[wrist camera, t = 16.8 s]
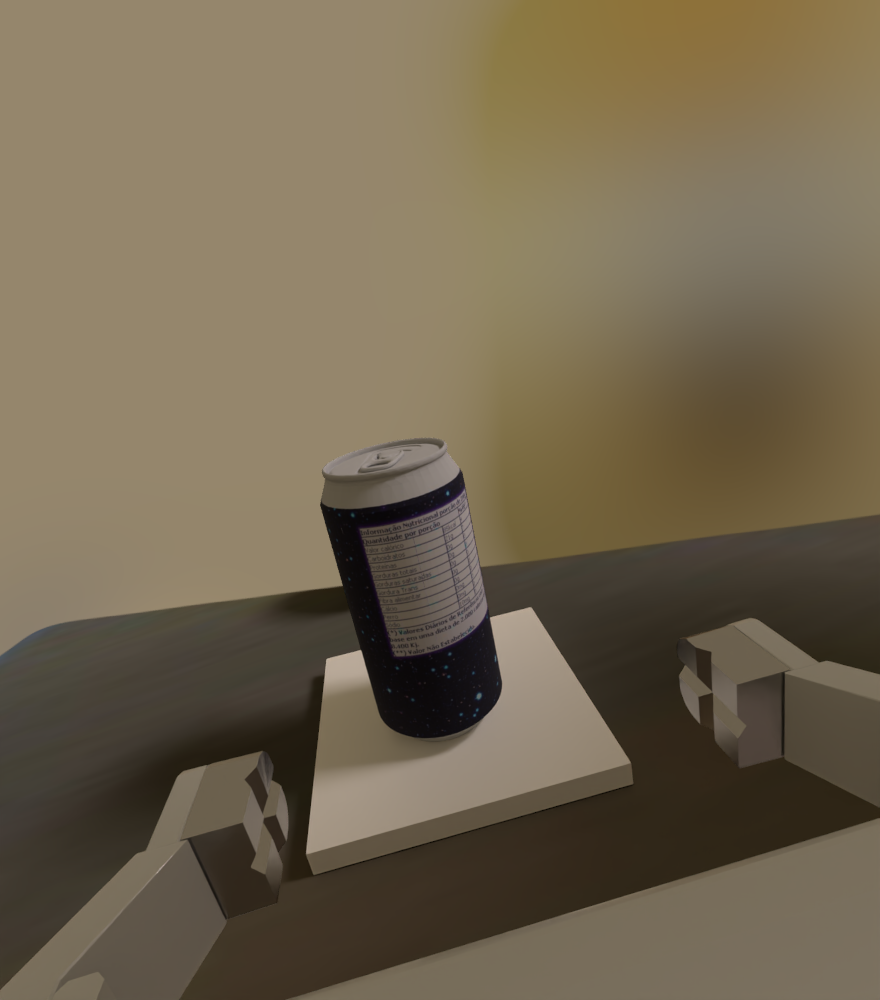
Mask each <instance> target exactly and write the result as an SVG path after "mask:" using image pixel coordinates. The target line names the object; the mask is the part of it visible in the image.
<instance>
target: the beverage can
mask: <svg viewBox="0 0 880 1000" xmlns="http://www.w3.org/2000/svg"><path fill="white" fill-rule="evenodd" d="M322 474H323V476H324V478H325V485H324V489H323V493H322V498H321V504H320V506H321V509H322V513H323V516H324V520H325V524H326V527H327V531H328V534H329V538H330V541H331V544H332V548H333V552H334V555H335V559H336V563H337V566H338V570H339V573H340V577H341V580H342V584H343V588H344V591H345V595H346V598H347V602H348V605H349V609H350V612H351V616H352V619H353V623H354V627H355V630H356V634H357V637H358V641H359V644H360V648H361V651H362V655H363V658H364V662H365V666H366V669H367V673H368V676H369V680H370V683H371V687H372V690H373V694H374V697H375V701H376V704H377V708H378V712H379V715H380V717H381V719H382V720H383V722H384V723H385V724H386V725H387V726H388V727H389V728H391V729H392V730H394V731H396V732H398V733H400V734H403V735H406V736H410V737H413V738H415V739H419V740H422V741H428V742H439V741H446V740H451V739H454V738H457V737H459V736H461V735H464V734H466V733H467V732H469V731H470V730H472V729H473V728H474V727H476V726H477V725H478V724H479V723H480V722H481V721H482V719H483V718H484V717H485V716H486V715H487V714H488V713H489V712H490V711H491V710H492V709H493V707H494V706H495V705H496V703H497V701H498V700H499V697H500V695H501V691H502V679H501V673H500V668H499V663H498V658H497V652H496V647H495V642H494V636H493V631H492V626H491V621H490V615H489V610H488V605H487V600H486V594H485V589H484V584H483V578H482V573H481V568H480V563H479V558H478V552H477V547H476V542H475V536H474V531H473V526H472V521H471V515H470V510H469V505H468V499H467V494H466V489H465V484H464V478H463V474H462V472H461V470H460V468H459V467H458V466H457V464H456V463H455V462H454V461H453V459H452V458H451V457H450V455H449V454H448V453H447V444H446V442H445V441H443V440H441V439H436V438H414V439H406V440H398V441H393V442H388V443H383V444H378V445H375V446H371V447H367V448H363V449H360V450H357V451H354V452H351V453H348V454H346V455H343V456H341V457H338V458H337V459H334V460H333V461H331V462H329V463H328V464H326V465H325V466H324V468H323V469H322Z"/></svg>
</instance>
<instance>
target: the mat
mask: <svg viewBox="0 0 880 1000" xmlns="http://www.w3.org/2000/svg"><path fill="white" fill-rule="evenodd" d="M490 621H491V626H492V631H493V636H494V642H495V647H496V652H497V658H498V663H499V668H500V673H501V679H502V691H501V695H500V697H499V700H498V701H497V703H496V705H495V706H494V707H493V709H492V710H491V711H490V712H489V713H488V714H487V715H486V716H485V717H484V718H483V719H482V721H481V722H480V723H479V724H478V725H477V726H476V727H474V728H473V729H472V730H470V731H469V732H467V733H466V734H464V735H461V736H459V737H457V738H454V739H451V740H446V741H439V742H428V741H422V740H419V739H415V738H413V737H410V736H406V735H403V734H400V733H398V732H396V731H394V730H392V729H391V728H389V727H388V726H387V725H386V724H385V723H384V722H383V720H382V719H381V717H380V715H379V712H378V708H377V704H376V701H375V697H374V694H373V690H372V687H371V683H370V680H369V676H368V673H367V669H366V666H365V662H364V658H363V655H362V651H361V650H360V651H356V652H352V653H348V654H344V655H340V656H336V657H332V658H328V659H327V660H326V669H325V679H324V688H323V697H322V707H321V716H320V726H319V735H318V745H317V754H316V764H315V773H314V783H313V792H312V802H311V811H310V821H309V830H308V839H307V849H306V856H307V859H308V862H309V864H310V867H311V870H312V872H313V875H316V874H319V873H323V872H326V871H330V870H333V869H337V868H340V867H344V866H347V865H351V864H354V863H358V862H361V861H365V860H368V859H372V858H375V857H379V856H382V855H386V854H389V853H393V852H396V851H400V850H403V849H407V848H410V847H414V846H418V845H421V844H425V843H428V842H432V841H435V840H439V839H442V838H446V837H449V836H453V835H456V834H460V833H463V832H467V831H470V830H474V829H477V828H481V827H484V826H488V825H491V824H495V823H498V822H502V821H505V820H509V819H512V818H516V817H519V816H523V815H526V814H530V813H533V812H537V811H540V810H544V809H547V808H551V807H554V806H558V805H561V804H565V803H569V802H572V801H576V800H579V799H583V798H586V797H590V796H593V795H597V794H600V793H604V792H607V791H611V790H614V789H618V788H621V787H625V786H628V785H632V784H633V776H632V766H631V762H630V760H629V759H628V757H627V756H626V754H625V753H624V751H623V750H622V748H621V746H620V745H619V743H618V742H617V740H616V739H615V737H614V736H613V734H612V732H611V731H610V729H609V728H608V726H607V725H606V723H605V722H604V720H603V718H602V717H601V715H600V714H599V712H598V711H597V709H596V708H595V706H594V704H593V703H592V701H591V700H590V698H589V697H588V695H587V694H586V692H585V690H584V689H583V687H582V686H581V684H580V683H579V681H578V680H577V678H576V676H575V675H574V673H573V672H572V670H571V669H570V667H569V666H568V664H567V662H566V661H565V659H564V658H563V656H562V655H561V653H560V651H559V650H558V648H557V647H556V645H555V644H554V642H553V641H552V639H551V637H550V636H549V634H548V633H547V631H546V630H545V628H544V627H543V625H542V623H541V622H540V620H539V619H538V617H537V616H536V614H535V613H534V611H533V609H532V608H531V607H530V608H526V609H522V610H518V611H514V612H510V613H506V614H502V615H498V616H494V617H490Z"/></svg>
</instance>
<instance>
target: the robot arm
mask: <svg viewBox="0 0 880 1000" xmlns="http://www.w3.org/2000/svg"><path fill="white" fill-rule="evenodd" d="M677 657H678V658H679V659H680V660H681V661H682V662H683V663H684V664H685V666H684V668H683V670H682V671H681V673H680V675H679V682H680V690H681V693H682V696H683V699H684V701H685V704H686V706H687V707H688V709H689V711H690V712H691V714H692V715H693V717H694V718H695V719H696V720H697V721H698V722H699V724H700V725H703V726H705V727H708V728H710V729H713V730H714V731H715V742H716V743H717V744H718V745H719V746H720V747H721V749H722V750H723V751H724V752H725V753H726V754H727V755H728V756H729V758H730V759H731V760H732V761H733V762H734V763H735V764H736V765H737V766H738V768H742V767H746V766H750V765H754V764H758V763H762V762H766V761H769V760H773V759H777V758H781V757H784V759H785V760H787V761H789V762H791V763H793V764H795V765H797V766H799V767H801V768H803V769H805V770H807V771H809V772H811V773H813V774H814V775H816V776H818V777H820V778H822V779H824V780H826V781H828V782H830V783H832V784H834V785H836V786H838V787H840V788H842V789H844V790H846V791H848V792H850V793H852V794H854V795H856V796H858V797H860V798H862V799H863V800H865V801H867V802H869V803H871V804H873V805H875V806H877V807H879V808H880V674H876V673H872V672H868V671H864V670H861V669H857V668H853V667H849V666H845V665H841V664H838V663H834V662H830V661H824V662H820V663H819V662H817V661H816V660H815V659H813V658H812V657H810V656H809V655H807V654H806V653H805V652H803V651H802V650H800V649H799V648H797V647H796V646H795V645H793V644H792V643H790V642H789V641H787V640H786V639H785V638H783V637H782V636H780V635H779V634H777V633H776V632H775V631H773V630H772V629H770V628H769V627H767V626H766V625H765V624H763V623H762V622H760V621H759V620H757V619H753V618H748V619H745V620H742V621H738V622H735V623H732V624H728V625H726V626H724V627H720V628H717V629H713V630H710V631H706V632H702V633H699V634H695V635H691V636H688V637H684V638H681V639H679V641H678V644H677ZM273 769H274V766H273V764H272V762H271V759H270V757H269V755H268V753H266V752H264V751H261V752H257V753H253V754H249V755H245V756H240V757H236V758H232V759H228V760H224V761H220V762H216V763H212V764H210V765H205V766H201V767H197V768H194V769H190V770H186V771H183V772H182V773H181V774H180V775H178V777H177V778H176V780H175V783H174V785H173V787H172V790H171V792H170V795H169V797H168V799H167V802H166V804H165V806H164V809H163V811H162V813H161V816H160V818H159V821H158V823H157V825H156V828H155V830H154V832H153V835H152V837H151V839H150V842H149V844H148V846H147V849H146V851H144V852H141V853H137V854H136V855H135V856H134V857H133V858H132V859H131V860H130V861H129V862H128V863H127V864H126V865H125V866H124V867H123V868H122V869H121V870H120V871H119V872H118V873H117V874H116V875H115V876H114V877H113V878H112V879H111V880H110V881H109V882H108V883H107V884H106V885H105V886H104V887H103V888H102V889H101V890H100V891H99V892H98V893H97V894H96V895H95V896H94V897H93V898H92V899H91V900H90V901H89V902H88V903H87V904H86V905H85V906H84V907H83V908H82V909H81V910H80V911H79V912H78V913H77V914H76V915H75V916H74V917H73V918H72V919H71V920H70V921H69V922H68V923H67V924H66V925H65V926H64V927H63V928H62V929H61V930H60V931H59V932H58V933H57V934H56V935H55V936H54V937H53V938H52V939H51V940H50V941H49V942H48V943H47V944H46V945H45V946H44V947H43V948H42V949H41V950H40V951H39V952H38V953H37V954H36V955H35V956H34V957H33V958H32V959H31V960H30V961H29V962H28V963H27V964H26V965H25V966H24V967H23V968H22V969H21V970H20V971H19V972H18V973H17V974H16V975H15V976H14V977H13V978H12V979H11V980H10V981H9V982H8V983H7V984H6V985H5V986H4V987H3V988H2V989H1V990H0V1000H179V999H180V997H181V996H182V994H183V992H184V991H185V989H186V988H187V986H188V984H189V983H190V981H191V980H192V978H193V976H194V975H195V973H196V972H197V970H198V968H199V967H200V965H201V964H202V962H203V960H204V959H205V957H206V956H207V954H208V952H209V951H210V949H211V948H212V946H213V944H214V943H215V941H216V940H217V938H218V936H219V935H220V933H221V932H222V930H223V928H224V927H225V925H226V924H227V921H226V920H227V919H230V918H233V917H236V916H239V915H242V914H246V913H249V912H252V911H255V910H258V909H261V908H264V907H267V906H270V905H273V904H276V903H277V902H278V895H279V888H280V882H281V875H282V869H283V864H282V862H281V859H280V856H279V854H278V853H279V851H280V850H281V848H282V847H283V846H284V844H285V843H286V842H287V834H288V808H287V804H286V799H285V795H284V792H283V790H282V787H281V785H279V784H277V783H276V782H274V781H272V780H271V779H272V774H273ZM287 1000H880V818H878V819H875V820H872V821H868V822H865V823H862V824H859V825H855V826H852V827H849V828H845V829H842V830H839V831H836V832H832V833H829V834H826V835H823V836H819V837H816V838H813V839H810V840H806V841H803V842H800V843H796V844H793V845H790V846H787V847H783V848H780V849H777V850H774V851H770V852H767V853H764V854H760V855H757V856H754V857H751V858H747V859H744V860H741V861H738V862H734V863H731V864H728V865H724V866H721V867H718V868H715V869H711V870H708V871H705V872H702V873H698V874H695V875H692V876H688V877H685V878H682V879H679V880H675V881H672V882H669V883H666V884H662V885H659V886H656V887H652V888H649V889H646V890H643V891H639V892H636V893H633V894H629V895H626V896H623V897H620V898H616V899H613V900H610V901H607V902H603V903H600V904H597V905H594V906H590V907H587V908H584V909H581V910H577V911H574V912H571V913H567V914H564V915H561V916H558V917H554V918H551V919H548V920H545V921H541V922H538V923H535V924H532V925H528V926H525V927H522V928H518V929H515V930H512V931H509V932H505V933H502V934H499V935H496V936H492V937H489V938H486V939H483V940H479V941H476V942H473V943H469V944H466V945H463V946H460V947H456V948H453V949H450V950H447V951H443V952H440V953H437V954H434V955H430V956H427V957H424V958H420V959H417V960H414V961H411V962H407V963H404V964H401V965H398V966H394V967H391V968H388V969H385V970H381V971H378V972H375V973H371V974H368V975H365V976H362V977H358V978H355V979H352V980H349V981H345V982H342V983H339V984H336V985H332V986H329V987H326V988H322V989H319V990H316V991H313V992H309V993H306V994H303V995H300V996H296V997H293V998H290V999H287Z"/></svg>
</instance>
